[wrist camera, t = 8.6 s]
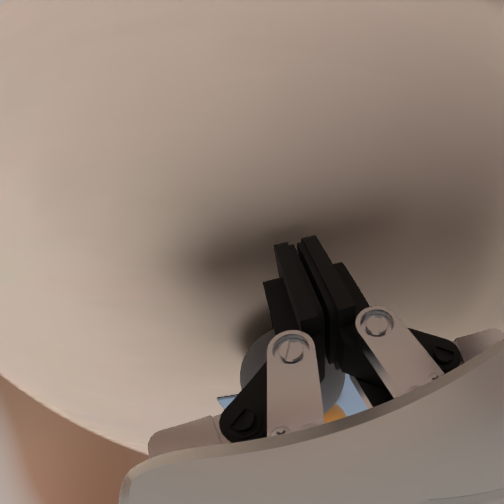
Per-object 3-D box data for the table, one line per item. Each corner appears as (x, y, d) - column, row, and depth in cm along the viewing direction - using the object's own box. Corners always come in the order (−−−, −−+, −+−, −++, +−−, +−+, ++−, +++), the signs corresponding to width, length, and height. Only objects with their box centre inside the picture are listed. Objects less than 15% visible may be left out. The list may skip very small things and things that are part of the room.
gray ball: (344, 435, 12) (326, 367, 17) (369, 373, 10) (338, 301, 15) (242, 444, 12) (244, 373, 17) (232, 385, 10) (238, 306, 15)
